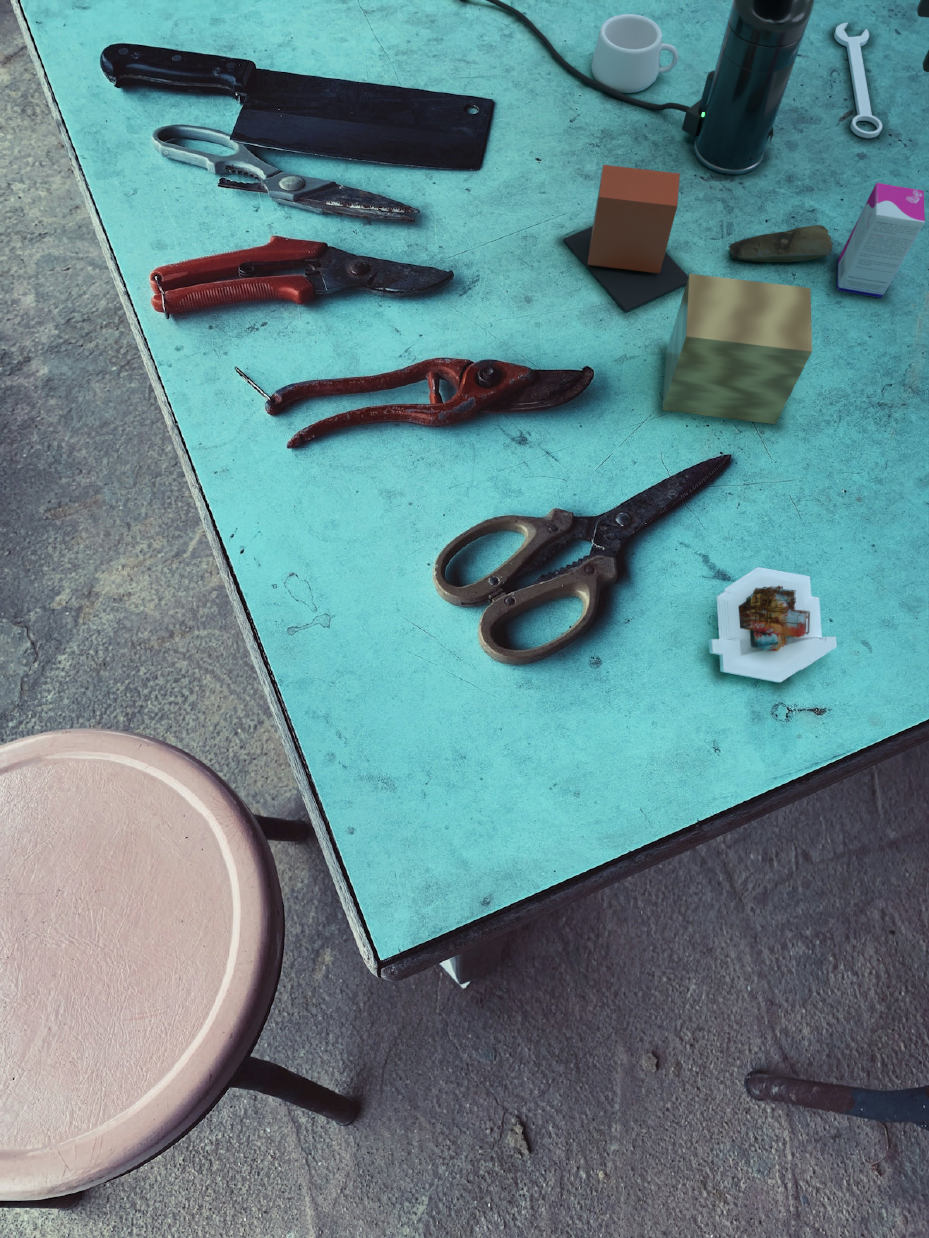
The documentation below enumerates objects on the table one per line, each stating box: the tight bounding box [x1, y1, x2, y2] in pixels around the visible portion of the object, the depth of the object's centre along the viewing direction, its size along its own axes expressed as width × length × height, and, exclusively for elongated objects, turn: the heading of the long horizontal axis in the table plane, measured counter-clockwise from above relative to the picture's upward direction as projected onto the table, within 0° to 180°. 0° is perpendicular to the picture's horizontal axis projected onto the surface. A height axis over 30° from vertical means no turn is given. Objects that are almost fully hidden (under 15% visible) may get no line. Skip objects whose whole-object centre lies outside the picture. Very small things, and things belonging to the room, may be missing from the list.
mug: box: [591, 13, 679, 94], centre depth 131 cm, size 12×10×6 cm
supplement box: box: [836, 182, 926, 299], centre depth 111 cm, size 6×6×12 cm
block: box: [588, 164, 680, 273], centre depth 112 cm, size 11×6×9 cm
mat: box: [562, 225, 689, 314], centre depth 117 cm, size 14×10×1 cm
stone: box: [728, 224, 834, 263], centre depth 117 cm, size 13×5×2 cm, turn 100°
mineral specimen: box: [708, 566, 838, 683], centre depth 91 cm, size 12×12×7 cm
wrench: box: [833, 22, 883, 139], centre depth 133 cm, size 25×1×5 cm
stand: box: [661, 273, 813, 425], centre depth 103 cm, size 13×9×12 cm
